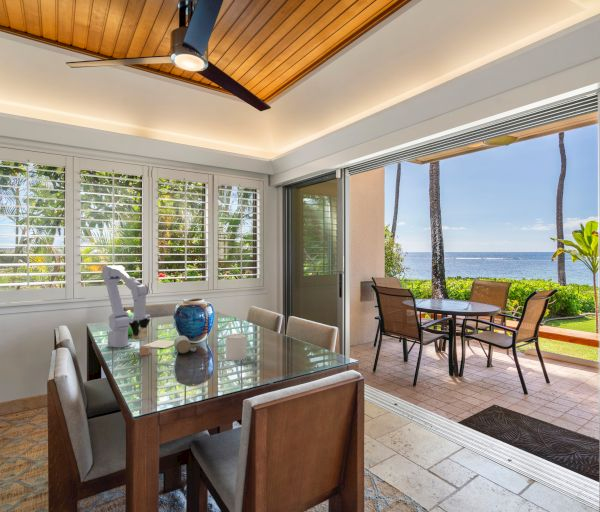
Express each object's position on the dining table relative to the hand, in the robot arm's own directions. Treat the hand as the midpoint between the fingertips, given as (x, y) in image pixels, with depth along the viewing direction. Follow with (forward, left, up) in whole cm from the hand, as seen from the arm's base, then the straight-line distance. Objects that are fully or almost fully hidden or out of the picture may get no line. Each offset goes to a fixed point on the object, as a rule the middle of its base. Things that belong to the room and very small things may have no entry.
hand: (139, 334), depth 188 cm
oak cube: (0, 0, -2) cm, 2 cm away
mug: (+53, +3, -9) cm, 54 cm away
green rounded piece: (-30, +28, -9) cm, 42 cm away
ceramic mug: (+24, +5, -9) cm, 26 cm away
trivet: (+4, +13, -8) cm, 16 cm away
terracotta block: (+8, -6, -8) cm, 13 cm away
